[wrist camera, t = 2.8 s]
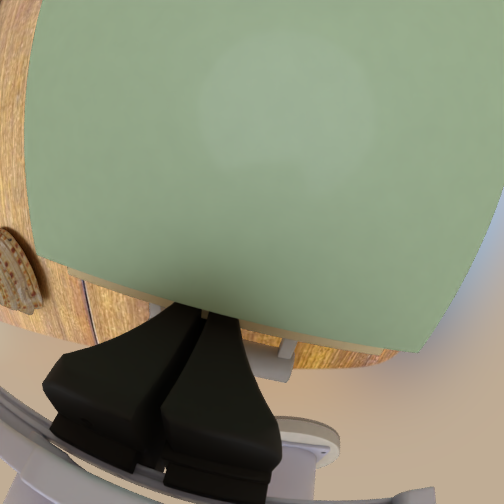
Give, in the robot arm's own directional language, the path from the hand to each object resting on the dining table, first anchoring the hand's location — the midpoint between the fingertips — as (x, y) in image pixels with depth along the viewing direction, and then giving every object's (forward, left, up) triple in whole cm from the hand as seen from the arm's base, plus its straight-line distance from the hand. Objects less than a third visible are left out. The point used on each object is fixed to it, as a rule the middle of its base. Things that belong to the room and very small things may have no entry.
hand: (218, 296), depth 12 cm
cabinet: (+9, 0, -5) cm, 10 cm away
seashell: (-8, +21, -6) cm, 23 cm away
